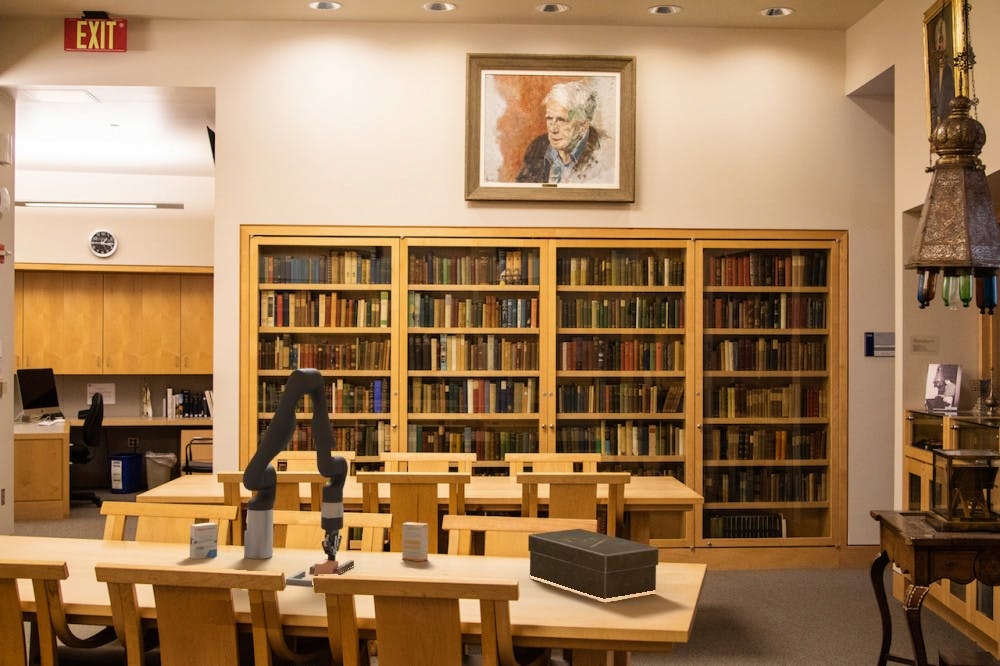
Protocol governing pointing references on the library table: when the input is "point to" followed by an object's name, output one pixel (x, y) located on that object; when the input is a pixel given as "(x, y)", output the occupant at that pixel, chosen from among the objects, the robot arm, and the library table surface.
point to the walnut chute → (338, 569)
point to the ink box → (203, 540)
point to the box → (593, 562)
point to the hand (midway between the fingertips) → (331, 565)
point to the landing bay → (296, 579)
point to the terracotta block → (325, 567)
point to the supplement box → (415, 541)
